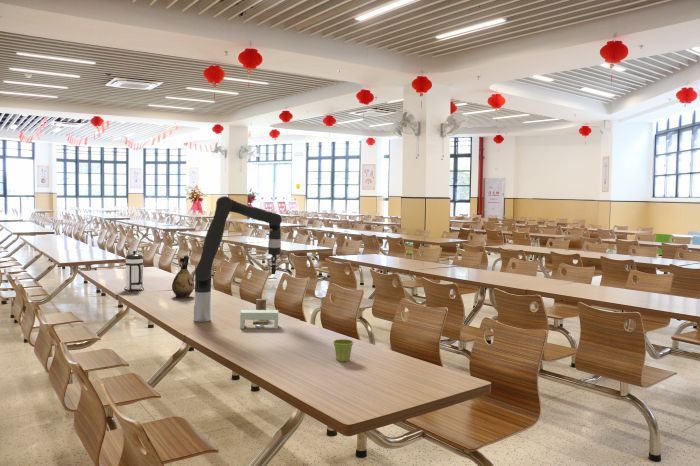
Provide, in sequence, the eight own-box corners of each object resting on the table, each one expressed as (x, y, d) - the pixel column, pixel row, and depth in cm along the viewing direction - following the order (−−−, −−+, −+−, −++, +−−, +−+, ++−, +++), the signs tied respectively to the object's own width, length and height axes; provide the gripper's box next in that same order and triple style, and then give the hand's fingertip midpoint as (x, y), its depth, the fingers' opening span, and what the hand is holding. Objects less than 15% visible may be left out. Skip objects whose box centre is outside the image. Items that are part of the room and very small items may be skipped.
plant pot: (346, 364, 258) (346, 345, 257) (328, 360, 263) (329, 342, 262) (356, 359, 266) (357, 341, 265) (339, 356, 271) (340, 338, 270)
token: (254, 328, 323) (254, 326, 323) (255, 326, 328) (255, 324, 328) (263, 328, 324) (263, 326, 324) (264, 326, 329) (264, 324, 328)
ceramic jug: (190, 299, 403) (191, 257, 401) (168, 298, 403) (169, 256, 401) (197, 295, 420) (197, 254, 418) (176, 294, 420) (176, 253, 418)
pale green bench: (240, 328, 320) (240, 312, 319) (241, 325, 328) (241, 309, 327) (277, 328, 322) (278, 312, 321) (278, 325, 330) (278, 310, 329)
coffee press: (118, 291, 426) (118, 251, 424) (130, 288, 442) (130, 249, 440) (140, 292, 423) (140, 252, 421) (151, 289, 439) (151, 250, 437)
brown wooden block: (252, 324, 332) (253, 303, 331) (254, 318, 347) (254, 298, 346) (266, 324, 333) (267, 303, 332) (267, 318, 348) (268, 298, 347)
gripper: (268, 245, 351) (267, 271, 352) (267, 247, 337) (266, 274, 338) (281, 245, 352) (280, 271, 353) (280, 247, 338) (279, 275, 339)
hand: (273, 273), depth 346 cm, fingers open, 8 cm apart
